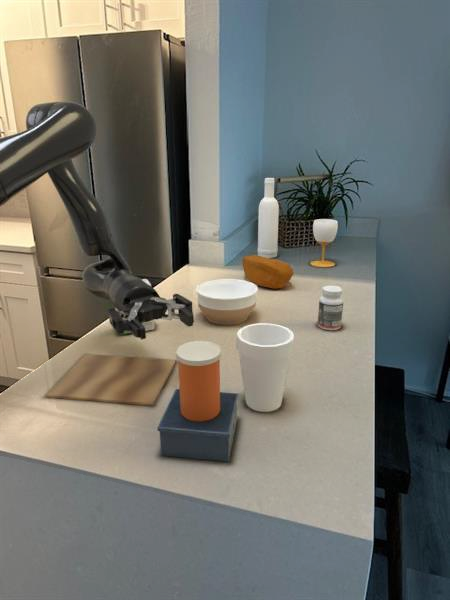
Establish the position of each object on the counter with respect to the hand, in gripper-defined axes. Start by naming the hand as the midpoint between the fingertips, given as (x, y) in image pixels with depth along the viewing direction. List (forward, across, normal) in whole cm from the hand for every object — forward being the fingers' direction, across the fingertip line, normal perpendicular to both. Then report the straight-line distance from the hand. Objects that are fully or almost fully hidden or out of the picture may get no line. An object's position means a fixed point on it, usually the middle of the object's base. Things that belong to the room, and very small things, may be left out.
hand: (168, 327), depth 71 cm
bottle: (-73, +76, +18) cm, 107 cm away
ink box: (-33, +5, +15) cm, 37 cm away
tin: (+11, -1, +14) cm, 18 cm away
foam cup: (+9, +13, +15) cm, 22 cm away
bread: (-46, +55, +17) cm, 74 cm away
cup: (-52, +85, +18) cm, 102 cm away
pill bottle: (-9, +46, +16) cm, 50 cm away
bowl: (-28, +29, +16) cm, 43 cm away
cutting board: (-13, -6, +14) cm, 20 cm away
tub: (+11, 0, +9) cm, 15 cm away
